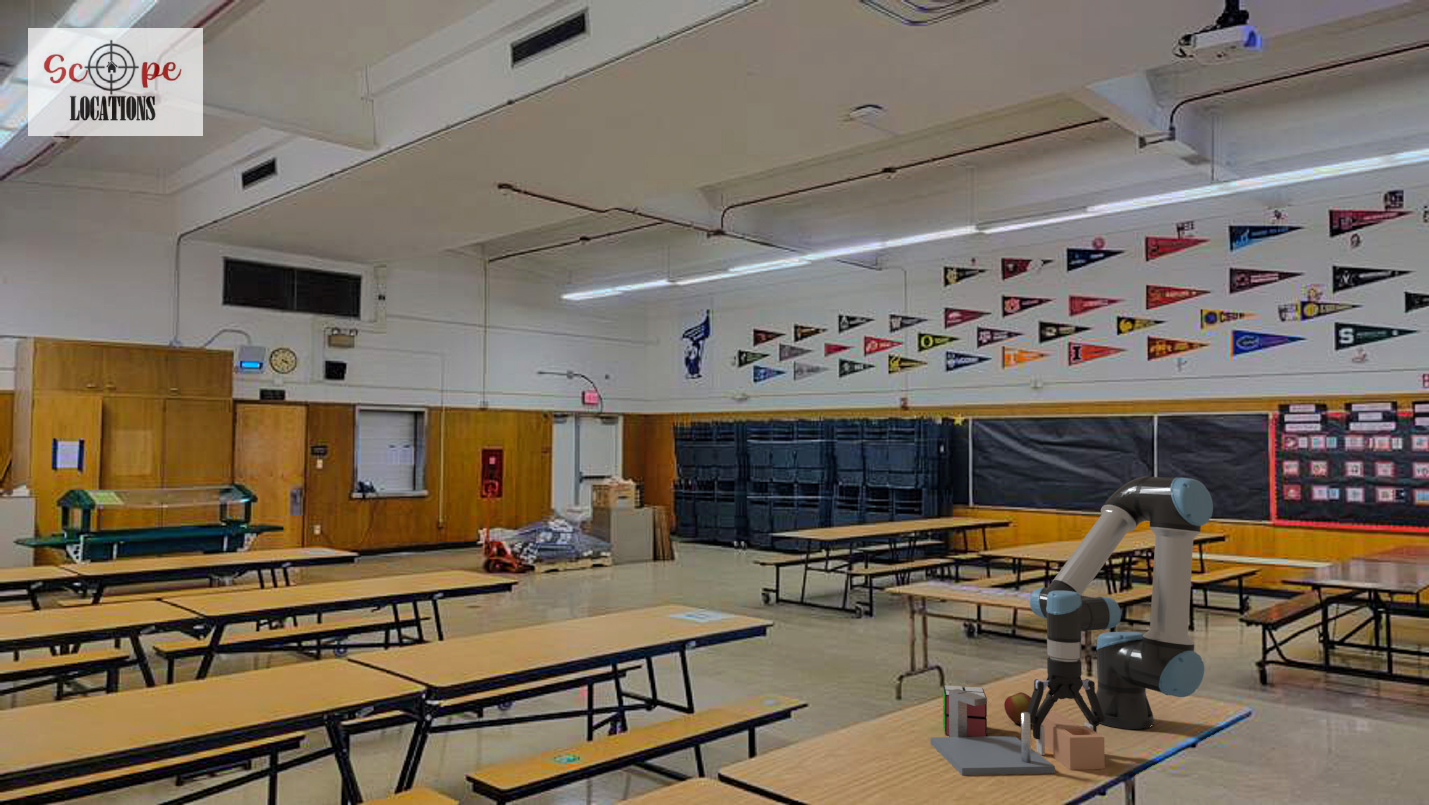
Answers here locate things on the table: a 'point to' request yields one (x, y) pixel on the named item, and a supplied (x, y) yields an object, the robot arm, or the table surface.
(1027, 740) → the peg
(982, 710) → the puzzle cube
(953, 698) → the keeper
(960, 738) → the board
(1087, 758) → the tan socket bar
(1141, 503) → the robot arm
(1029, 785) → the table surface
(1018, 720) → the apple
